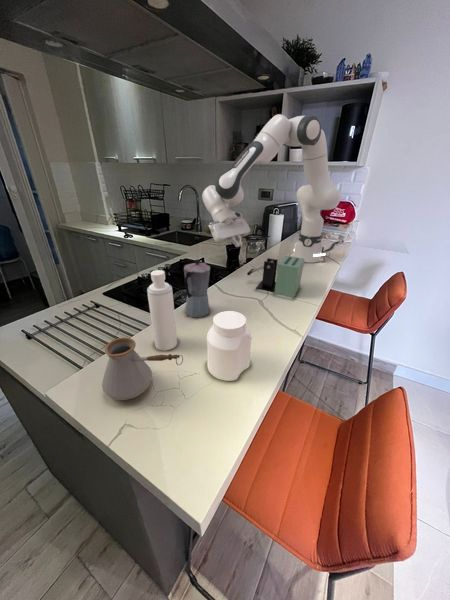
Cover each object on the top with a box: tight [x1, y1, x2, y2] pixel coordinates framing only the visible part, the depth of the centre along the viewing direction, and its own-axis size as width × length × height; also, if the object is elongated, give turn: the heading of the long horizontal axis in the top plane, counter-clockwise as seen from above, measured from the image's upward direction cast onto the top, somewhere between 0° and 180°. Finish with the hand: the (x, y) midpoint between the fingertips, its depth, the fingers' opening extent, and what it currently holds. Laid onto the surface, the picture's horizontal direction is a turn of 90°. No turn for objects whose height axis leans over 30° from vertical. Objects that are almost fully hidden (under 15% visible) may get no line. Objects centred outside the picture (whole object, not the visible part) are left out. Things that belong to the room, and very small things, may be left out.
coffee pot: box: [101, 337, 184, 401], centre depth 58 cm, size 21×12×15 cm, turn 69°
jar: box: [206, 310, 253, 382], centre depth 67 cm, size 12×10×15 cm
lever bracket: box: [255, 257, 279, 294], centre depth 110 cm, size 8×10×13 cm
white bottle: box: [146, 269, 178, 351], centre depth 72 cm, size 7×7×25 cm
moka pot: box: [183, 259, 211, 318], centre depth 90 cm, size 10×15×20 cm, turn 164°
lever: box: [246, 261, 274, 276], centre depth 111 cm, size 12×5×2 cm, turn 64°
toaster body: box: [274, 255, 305, 299], centre depth 107 cm, size 8×12×14 cm, turn 154°
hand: (239, 246), depth 113 cm, fingers closed
